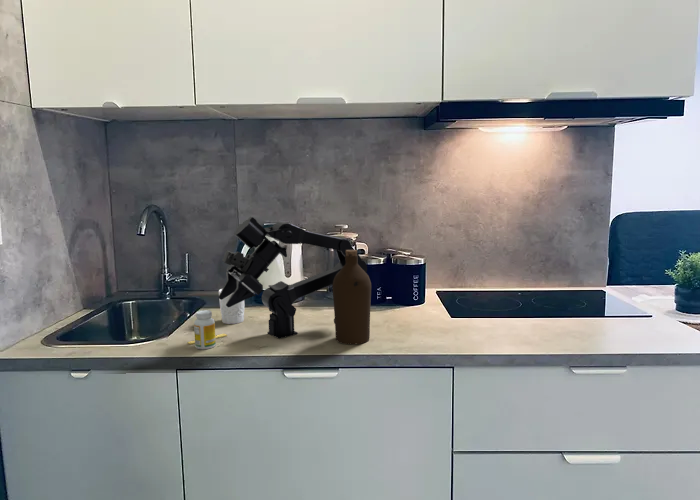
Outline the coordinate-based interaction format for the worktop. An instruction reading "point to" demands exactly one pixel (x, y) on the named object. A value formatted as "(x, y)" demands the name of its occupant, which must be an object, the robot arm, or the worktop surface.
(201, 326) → the supplement bottle
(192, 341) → the yellow flat stick
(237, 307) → the white cup
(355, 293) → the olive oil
